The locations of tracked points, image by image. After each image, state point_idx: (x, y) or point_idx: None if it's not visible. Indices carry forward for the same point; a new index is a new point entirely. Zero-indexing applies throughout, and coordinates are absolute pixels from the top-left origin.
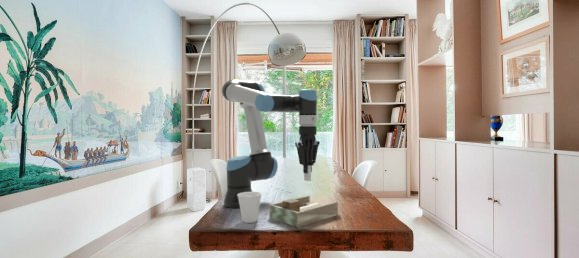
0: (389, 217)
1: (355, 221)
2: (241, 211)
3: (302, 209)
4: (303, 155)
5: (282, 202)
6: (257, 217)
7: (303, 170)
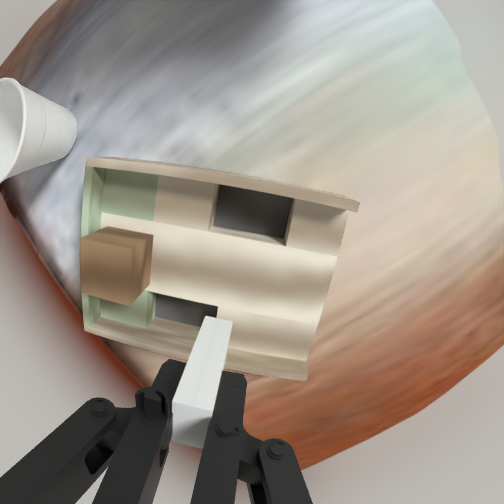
0: (345, 446)
1: (263, 410)
2: (15, 128)
3: (196, 265)
4: (63, 500)
5: (84, 237)
6: (59, 158)
7: (158, 373)
